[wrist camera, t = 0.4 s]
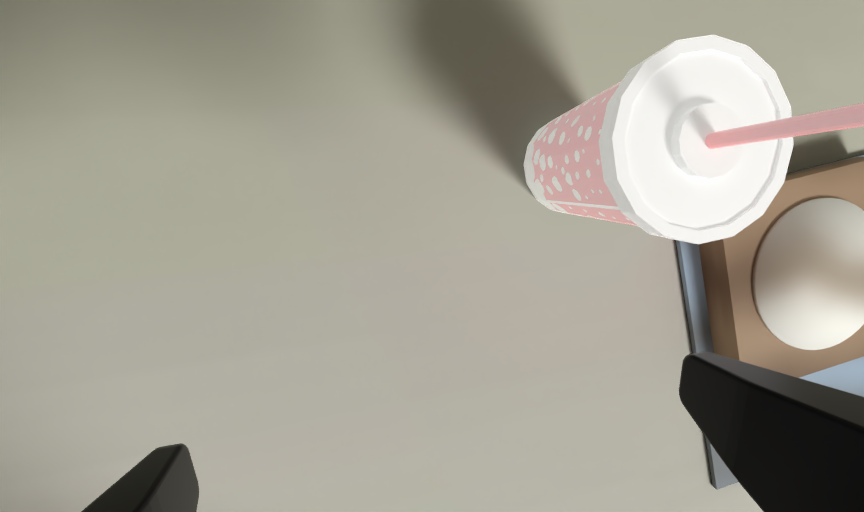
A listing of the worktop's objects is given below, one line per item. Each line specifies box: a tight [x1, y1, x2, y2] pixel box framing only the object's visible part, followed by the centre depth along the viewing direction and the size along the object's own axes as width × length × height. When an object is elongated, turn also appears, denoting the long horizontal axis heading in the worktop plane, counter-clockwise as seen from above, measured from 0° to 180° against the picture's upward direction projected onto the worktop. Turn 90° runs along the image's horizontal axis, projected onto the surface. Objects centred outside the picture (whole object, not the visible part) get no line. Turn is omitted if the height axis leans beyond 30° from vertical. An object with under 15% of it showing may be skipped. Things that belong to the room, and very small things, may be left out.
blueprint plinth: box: [676, 154, 864, 489], centre depth 25 cm, size 16×14×2 cm
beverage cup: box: [524, 35, 864, 244], centre depth 16 cm, size 6×6×14 cm
